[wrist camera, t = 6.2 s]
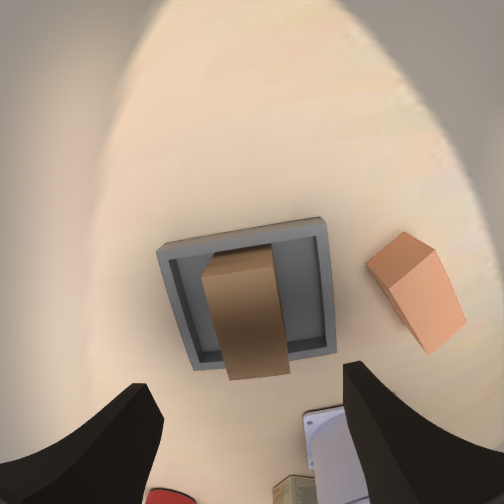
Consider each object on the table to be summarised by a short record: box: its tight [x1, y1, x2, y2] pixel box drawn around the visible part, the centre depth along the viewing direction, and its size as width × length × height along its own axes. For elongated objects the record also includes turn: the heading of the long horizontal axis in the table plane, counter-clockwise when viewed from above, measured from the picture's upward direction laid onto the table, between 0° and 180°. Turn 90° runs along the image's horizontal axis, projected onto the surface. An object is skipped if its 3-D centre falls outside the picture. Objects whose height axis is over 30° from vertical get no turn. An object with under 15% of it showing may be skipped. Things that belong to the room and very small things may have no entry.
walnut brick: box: [201, 243, 290, 380], centre depth 16 cm, size 6×3×4 cm, turn 10°
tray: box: [156, 217, 337, 371], centre depth 17 cm, size 8×9×2 cm
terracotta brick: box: [365, 232, 467, 355], centre depth 16 cm, size 6×3×4 cm, turn 40°
